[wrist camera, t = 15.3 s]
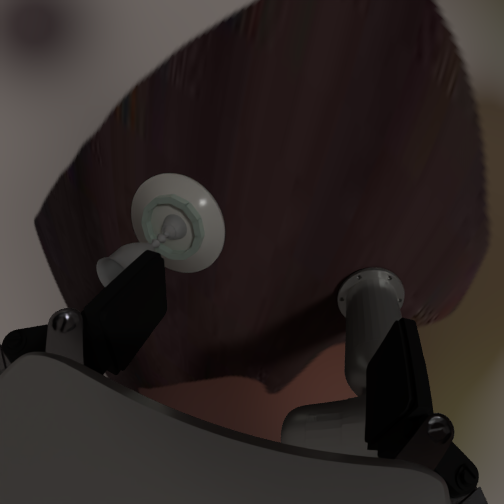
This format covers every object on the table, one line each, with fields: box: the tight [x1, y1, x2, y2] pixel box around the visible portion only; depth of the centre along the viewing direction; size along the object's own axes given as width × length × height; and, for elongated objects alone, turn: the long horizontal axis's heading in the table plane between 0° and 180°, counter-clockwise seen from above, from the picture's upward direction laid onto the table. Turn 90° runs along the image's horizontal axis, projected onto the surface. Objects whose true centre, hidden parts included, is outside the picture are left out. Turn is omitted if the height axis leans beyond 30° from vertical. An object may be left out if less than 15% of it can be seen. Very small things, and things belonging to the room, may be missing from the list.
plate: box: [131, 173, 226, 273], centre depth 51 cm, size 20×20×2 cm
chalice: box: [97, 214, 187, 287], centre depth 43 cm, size 7×7×18 cm
